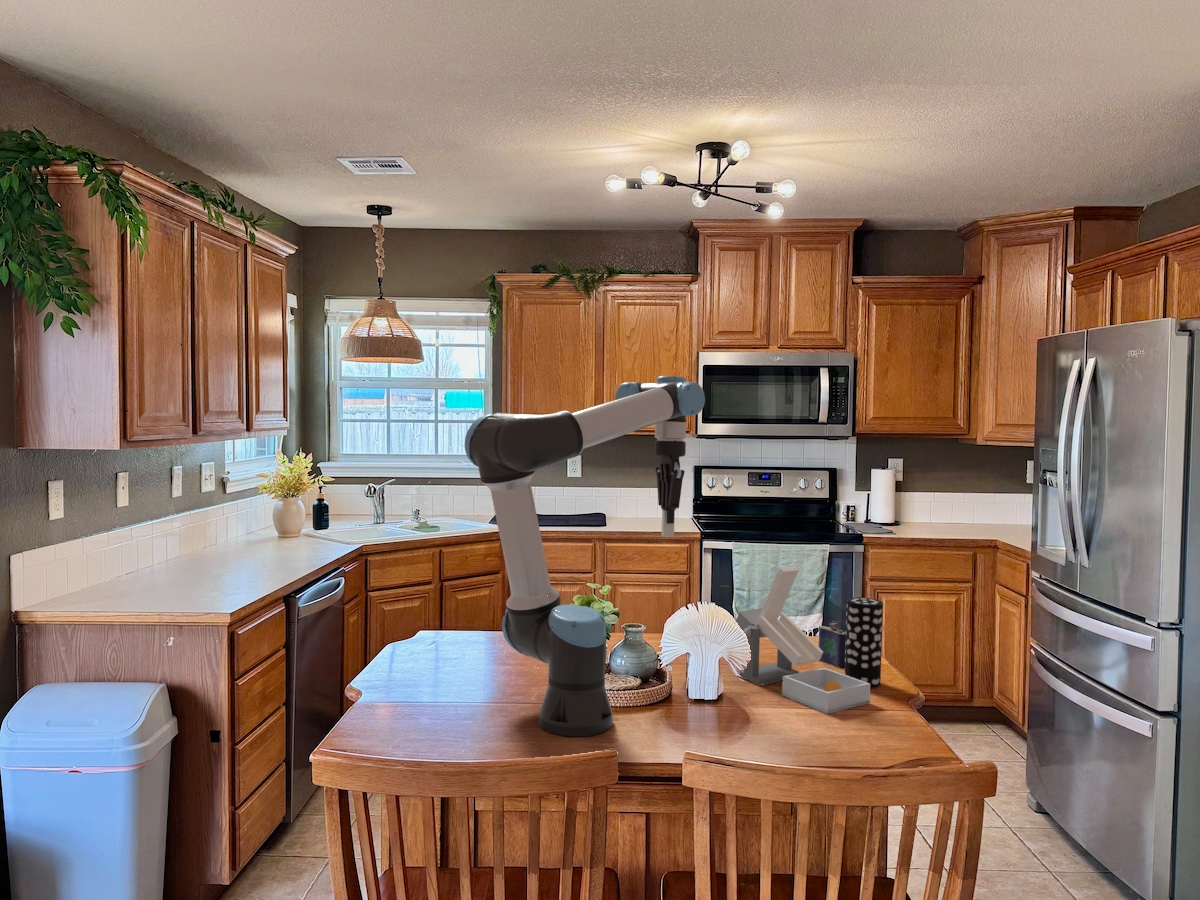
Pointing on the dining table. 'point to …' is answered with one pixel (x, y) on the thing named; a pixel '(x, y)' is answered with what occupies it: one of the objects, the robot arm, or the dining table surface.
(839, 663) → the flask
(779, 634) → the chute
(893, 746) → the dining table surface
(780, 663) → the stand
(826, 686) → the ball
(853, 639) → the spotted tube
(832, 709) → the grey storage tray
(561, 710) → the robot arm
